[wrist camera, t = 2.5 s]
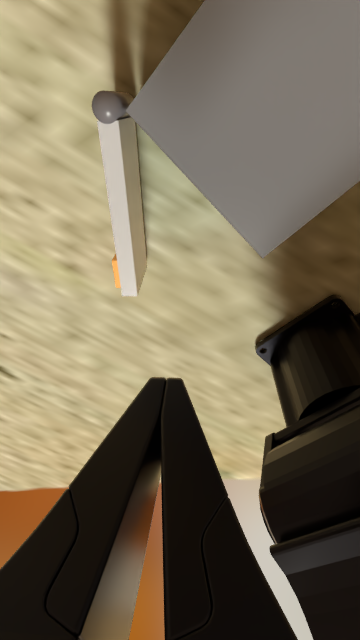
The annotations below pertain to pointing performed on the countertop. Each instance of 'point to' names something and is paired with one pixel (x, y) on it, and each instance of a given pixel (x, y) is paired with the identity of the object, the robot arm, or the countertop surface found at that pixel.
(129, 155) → the side door
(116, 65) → the countertop surface
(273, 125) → the camera block
